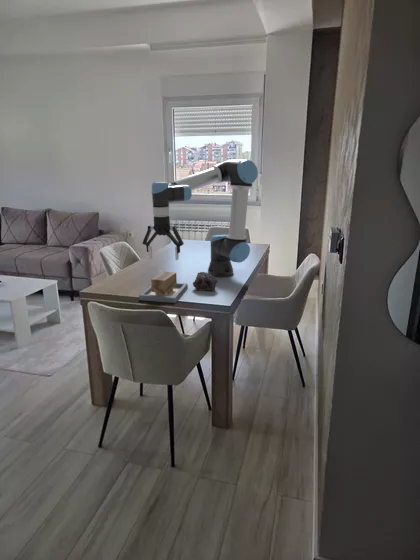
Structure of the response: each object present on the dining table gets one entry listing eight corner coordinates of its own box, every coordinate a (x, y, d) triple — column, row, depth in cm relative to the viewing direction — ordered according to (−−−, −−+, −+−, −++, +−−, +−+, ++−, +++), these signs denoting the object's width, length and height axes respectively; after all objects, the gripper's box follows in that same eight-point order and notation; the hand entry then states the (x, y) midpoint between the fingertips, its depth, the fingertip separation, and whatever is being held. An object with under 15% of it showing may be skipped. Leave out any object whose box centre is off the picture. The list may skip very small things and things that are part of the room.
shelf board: (176, 284, 196) (176, 272, 194) (164, 293, 184) (164, 280, 182) (164, 283, 198) (163, 271, 196) (151, 291, 186) (151, 279, 184)
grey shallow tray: (187, 288, 200) (187, 282, 199) (175, 302, 180) (175, 296, 179) (155, 285, 204) (155, 280, 203) (139, 300, 183) (139, 294, 182)
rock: (212, 295, 193) (218, 288, 202) (214, 280, 190) (220, 274, 199) (190, 289, 196) (197, 283, 205) (192, 274, 193) (199, 268, 202)
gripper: (188, 214, 181) (190, 258, 187) (139, 214, 186) (142, 256, 192) (184, 217, 174) (186, 262, 180) (133, 216, 179) (137, 259, 186)
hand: (163, 259), depth 186 cm, fingers open, 13 cm apart
